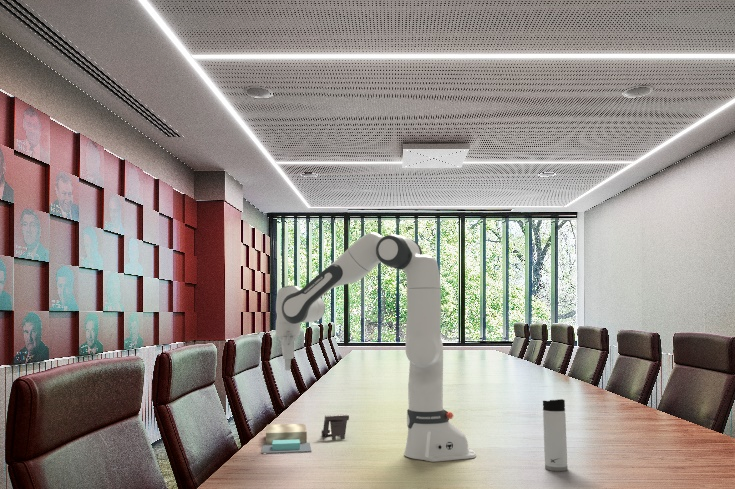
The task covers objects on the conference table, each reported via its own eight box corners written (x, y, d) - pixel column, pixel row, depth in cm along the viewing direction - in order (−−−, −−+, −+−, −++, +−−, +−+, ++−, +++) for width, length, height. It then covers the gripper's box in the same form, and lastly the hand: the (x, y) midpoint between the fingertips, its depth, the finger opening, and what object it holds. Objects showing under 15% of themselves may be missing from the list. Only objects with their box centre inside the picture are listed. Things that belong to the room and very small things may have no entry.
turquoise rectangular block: (299, 443, 204) (299, 449, 204) (299, 439, 210) (299, 445, 210) (272, 444, 203) (272, 450, 202) (272, 440, 209) (272, 446, 208)
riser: (304, 434, 230) (304, 423, 231) (306, 443, 214) (306, 431, 215) (266, 435, 228) (267, 424, 229) (265, 445, 212) (266, 433, 213)
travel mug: (555, 472, 174) (553, 400, 176) (540, 467, 180) (538, 397, 182) (573, 470, 176) (570, 399, 178) (557, 465, 182) (554, 396, 184)
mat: (309, 443, 214) (309, 442, 214) (311, 452, 201) (311, 450, 201) (262, 445, 212) (262, 444, 212) (261, 453, 199) (261, 452, 199)
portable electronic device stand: (344, 434, 230) (344, 411, 231) (350, 438, 222) (350, 415, 223) (321, 436, 227) (321, 413, 228) (326, 440, 220) (326, 416, 221)
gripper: (298, 331, 212) (297, 372, 210) (295, 330, 232) (295, 367, 230) (279, 332, 211) (279, 373, 209) (278, 330, 231) (278, 367, 230)
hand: (287, 370), depth 220 cm, fingers closed
